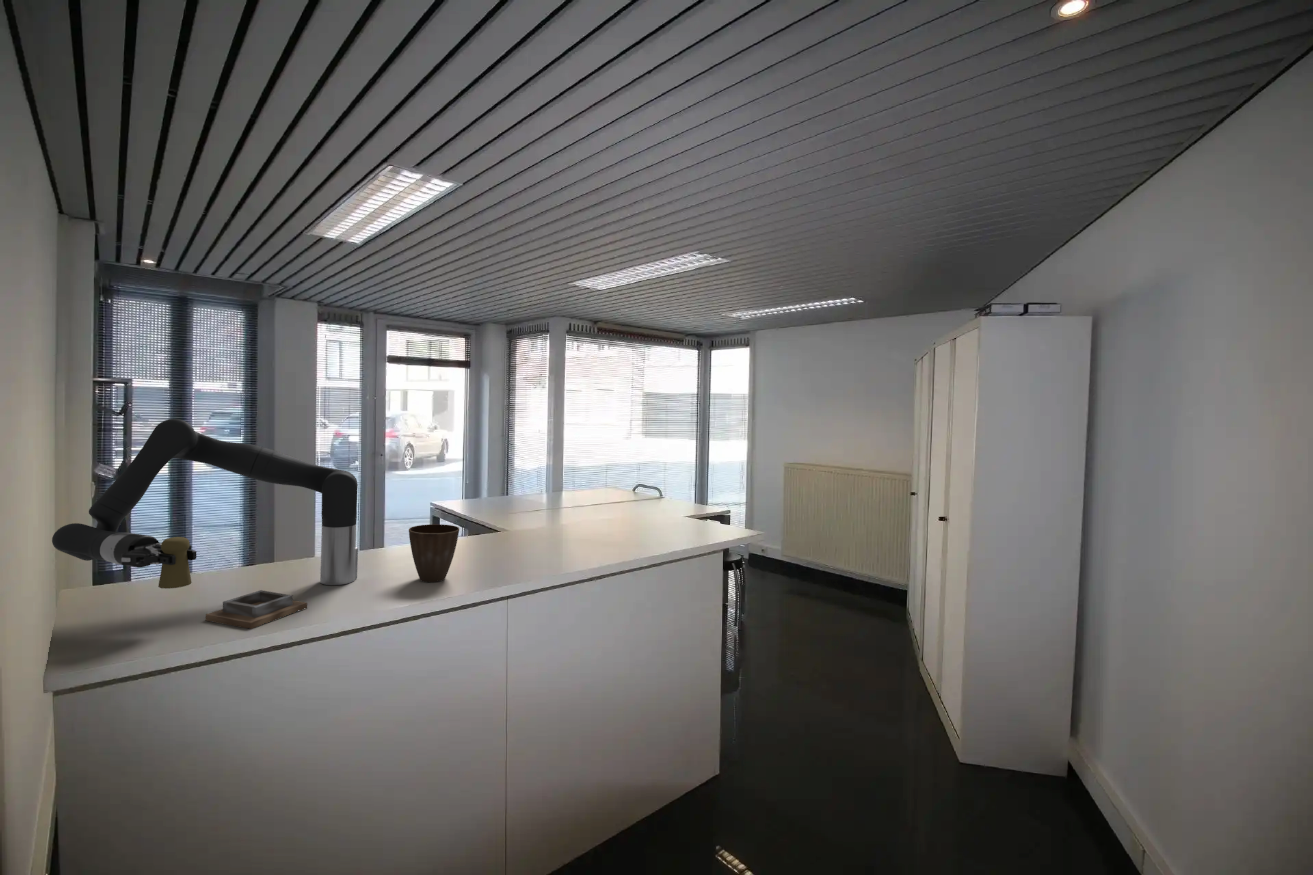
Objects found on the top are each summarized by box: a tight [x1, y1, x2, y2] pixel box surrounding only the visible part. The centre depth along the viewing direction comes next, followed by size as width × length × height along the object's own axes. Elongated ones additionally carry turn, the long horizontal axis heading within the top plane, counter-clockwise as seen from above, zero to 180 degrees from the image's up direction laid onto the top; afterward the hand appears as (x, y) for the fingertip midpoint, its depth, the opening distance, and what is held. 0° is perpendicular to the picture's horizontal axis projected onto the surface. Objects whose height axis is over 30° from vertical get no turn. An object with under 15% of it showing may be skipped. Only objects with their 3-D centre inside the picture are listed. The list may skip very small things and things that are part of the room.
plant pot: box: [408, 523, 460, 583], centre depth 189 cm, size 15×15×16 cm
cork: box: [158, 536, 193, 590], centre depth 140 cm, size 6×6×11 cm
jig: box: [205, 589, 308, 630], centre depth 151 cm, size 16×14×4 cm
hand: (184, 557), depth 139 cm, fingers closed on cork, 4 cm apart
